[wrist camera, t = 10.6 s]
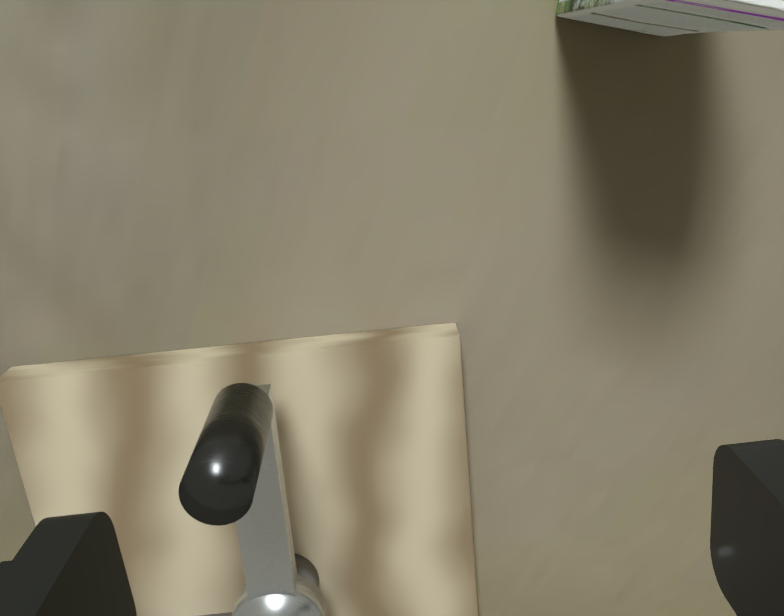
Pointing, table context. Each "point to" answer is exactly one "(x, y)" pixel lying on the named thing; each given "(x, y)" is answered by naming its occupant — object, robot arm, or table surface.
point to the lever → (249, 500)
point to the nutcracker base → (299, 460)
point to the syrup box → (677, 15)
